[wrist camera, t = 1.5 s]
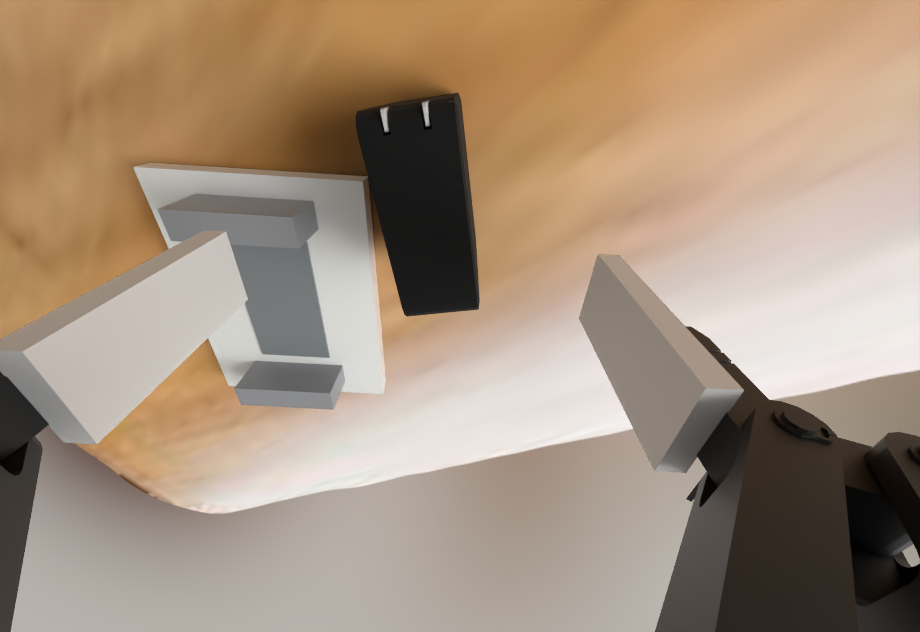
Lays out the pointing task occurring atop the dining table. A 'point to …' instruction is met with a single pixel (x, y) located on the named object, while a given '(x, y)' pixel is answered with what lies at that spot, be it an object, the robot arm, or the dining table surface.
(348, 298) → the mounting board
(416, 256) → the electronic device
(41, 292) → the dining table surface
